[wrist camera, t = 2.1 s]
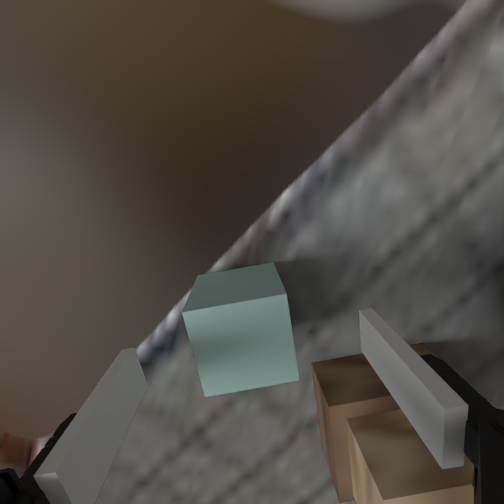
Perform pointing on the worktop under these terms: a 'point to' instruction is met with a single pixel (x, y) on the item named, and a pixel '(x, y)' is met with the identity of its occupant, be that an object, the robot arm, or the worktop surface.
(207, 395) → the teal cube
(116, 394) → the robot arm
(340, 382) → the tower base
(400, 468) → the tower top
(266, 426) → the worktop surface
